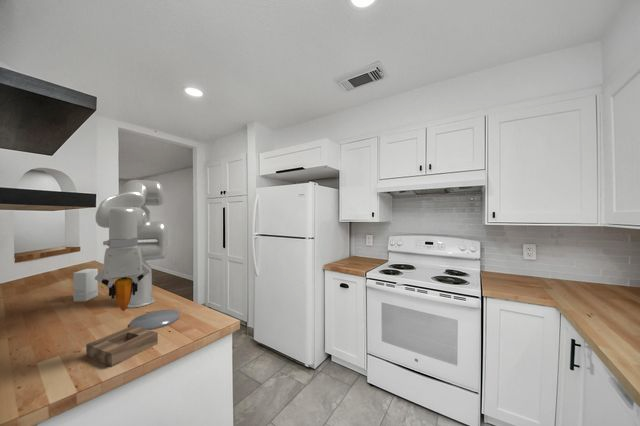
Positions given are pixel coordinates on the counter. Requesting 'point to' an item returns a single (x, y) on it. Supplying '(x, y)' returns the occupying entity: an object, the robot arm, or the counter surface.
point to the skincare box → (85, 284)
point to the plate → (155, 319)
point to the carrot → (123, 292)
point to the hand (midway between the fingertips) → (123, 295)
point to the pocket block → (121, 345)
